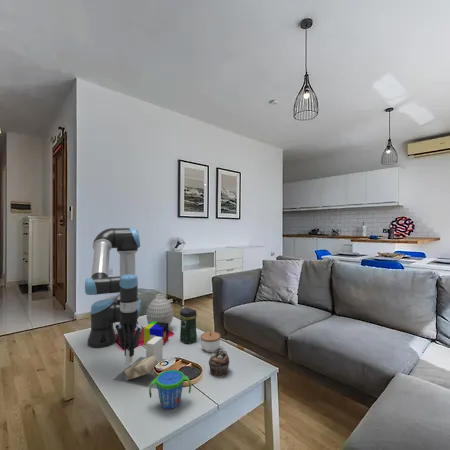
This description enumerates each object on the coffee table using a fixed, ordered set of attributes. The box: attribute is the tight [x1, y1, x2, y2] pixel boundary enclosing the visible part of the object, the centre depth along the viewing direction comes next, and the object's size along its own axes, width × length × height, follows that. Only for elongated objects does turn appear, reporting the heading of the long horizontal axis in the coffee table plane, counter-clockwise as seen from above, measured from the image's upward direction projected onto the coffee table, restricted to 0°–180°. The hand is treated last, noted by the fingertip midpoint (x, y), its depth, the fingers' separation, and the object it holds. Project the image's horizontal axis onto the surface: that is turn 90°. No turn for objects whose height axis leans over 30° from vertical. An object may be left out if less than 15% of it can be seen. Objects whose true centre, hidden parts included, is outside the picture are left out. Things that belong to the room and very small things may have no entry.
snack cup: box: [148, 370, 192, 410], centre depth 106 cm, size 16×10×10 cm
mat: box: [112, 356, 158, 390], centre depth 127 cm, size 26×21×1 cm
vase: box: [146, 293, 174, 328], centre depth 174 cm, size 16×16×22 cm
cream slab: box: [145, 336, 164, 370], centre depth 132 cm, size 4×8×12 cm, turn 163°
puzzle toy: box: [143, 322, 169, 346], centre depth 157 cm, size 10×10×10 cm
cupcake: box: [208, 348, 230, 378], centre depth 127 cm, size 10×10×10 cm
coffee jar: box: [179, 306, 198, 344], centre depth 160 cm, size 10×8×19 cm
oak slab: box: [122, 355, 158, 381], centre depth 122 cm, size 4×8×12 cm
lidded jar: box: [199, 331, 221, 354], centre depth 149 cm, size 11×11×9 cm
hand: (129, 363), depth 123 cm, fingers closed
